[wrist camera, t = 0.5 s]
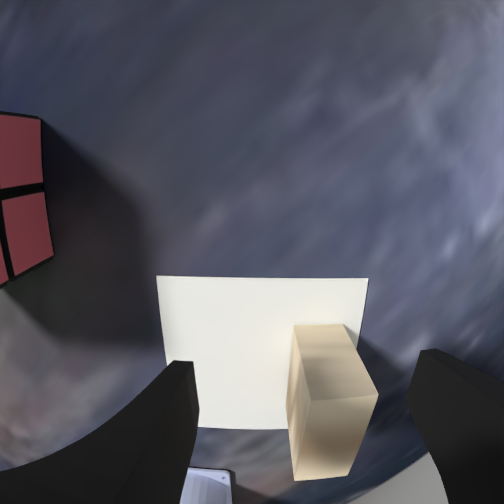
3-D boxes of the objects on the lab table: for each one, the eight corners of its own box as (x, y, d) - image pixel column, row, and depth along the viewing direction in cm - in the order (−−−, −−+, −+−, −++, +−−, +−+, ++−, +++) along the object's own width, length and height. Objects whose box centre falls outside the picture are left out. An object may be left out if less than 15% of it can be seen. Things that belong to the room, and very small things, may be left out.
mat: (337, 424, 22) (337, 425, 22) (178, 423, 22) (178, 424, 22) (367, 278, 18) (368, 278, 18) (156, 275, 18) (156, 276, 18)
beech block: (327, 401, 21) (347, 475, 14) (285, 403, 21) (294, 480, 14) (341, 322, 19) (378, 394, 12) (292, 323, 19) (310, 400, 12)
